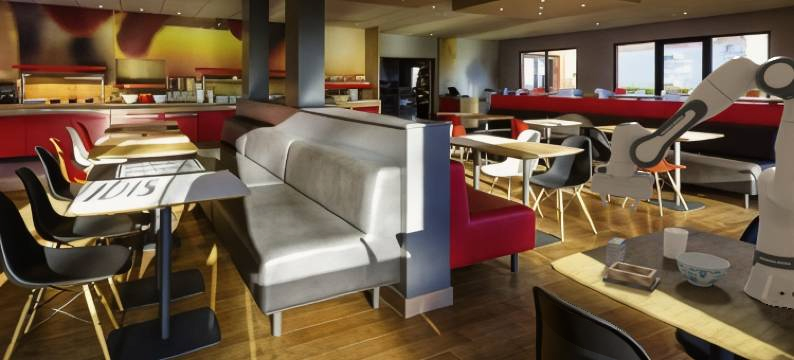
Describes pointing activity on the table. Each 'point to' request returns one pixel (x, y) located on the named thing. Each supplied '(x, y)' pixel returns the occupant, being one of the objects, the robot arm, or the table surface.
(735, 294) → the table surface
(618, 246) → the medicine box
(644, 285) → the locating plate
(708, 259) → the chinaware
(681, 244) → the white cup
